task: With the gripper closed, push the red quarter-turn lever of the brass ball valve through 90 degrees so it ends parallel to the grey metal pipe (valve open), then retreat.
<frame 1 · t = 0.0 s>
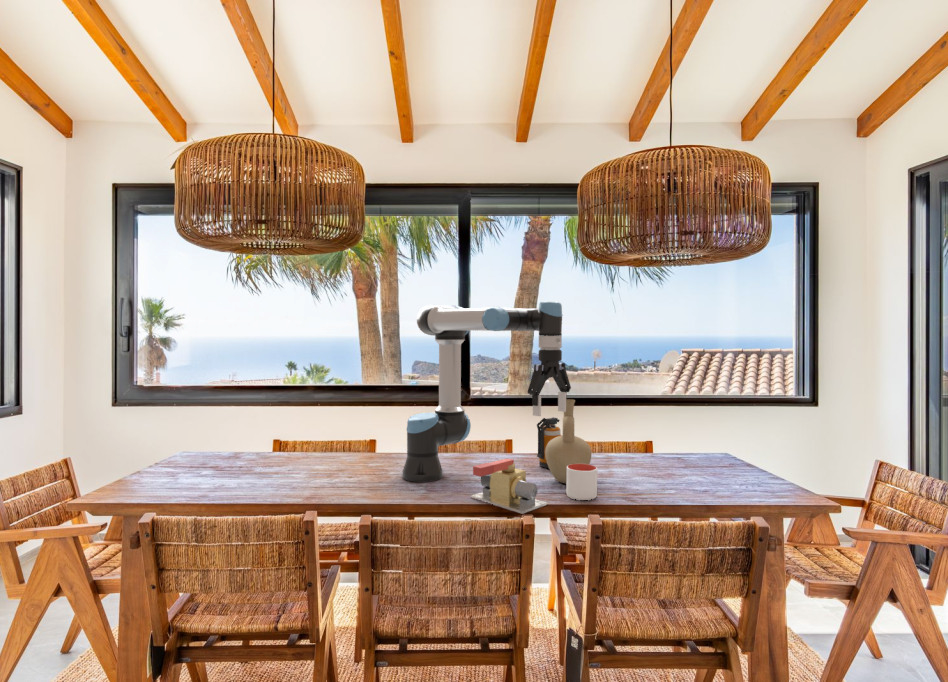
hand: (549, 413, 181), 28 cm above the table, fingers open, 13 cm apart
valve: (508, 501, 178), on the table
canister: (548, 467, 223), on the table
cup: (581, 497, 183), on the table
vase: (567, 482, 202), on the table
lever: (495, 468, 174), point 12 cm above the table, hinge at 0.0°
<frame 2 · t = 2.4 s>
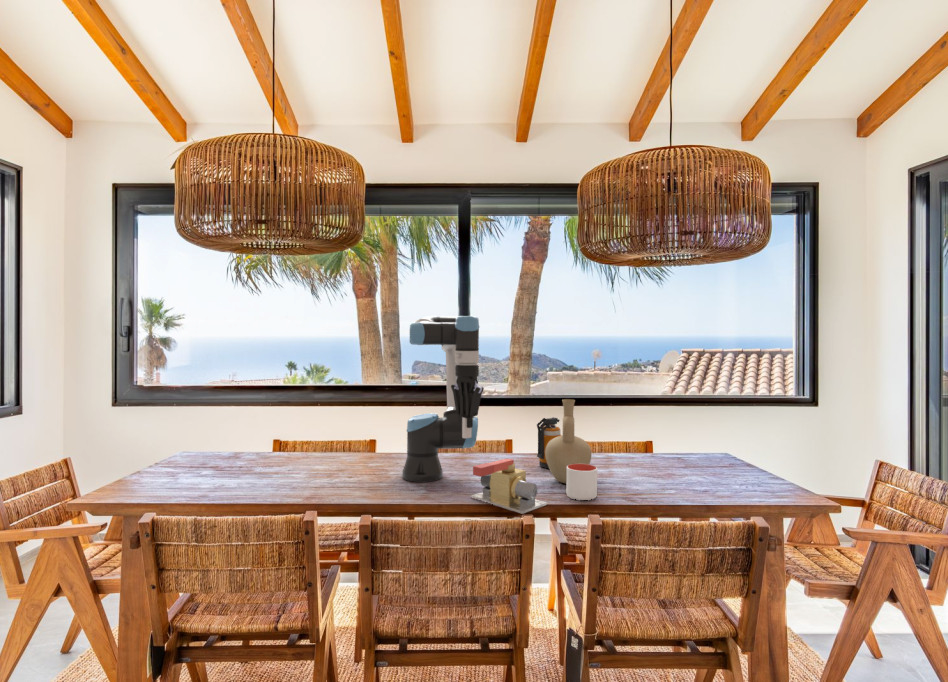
hand: (466, 437, 177), 21 cm above the table, fingers closed
nothing on the table moved.
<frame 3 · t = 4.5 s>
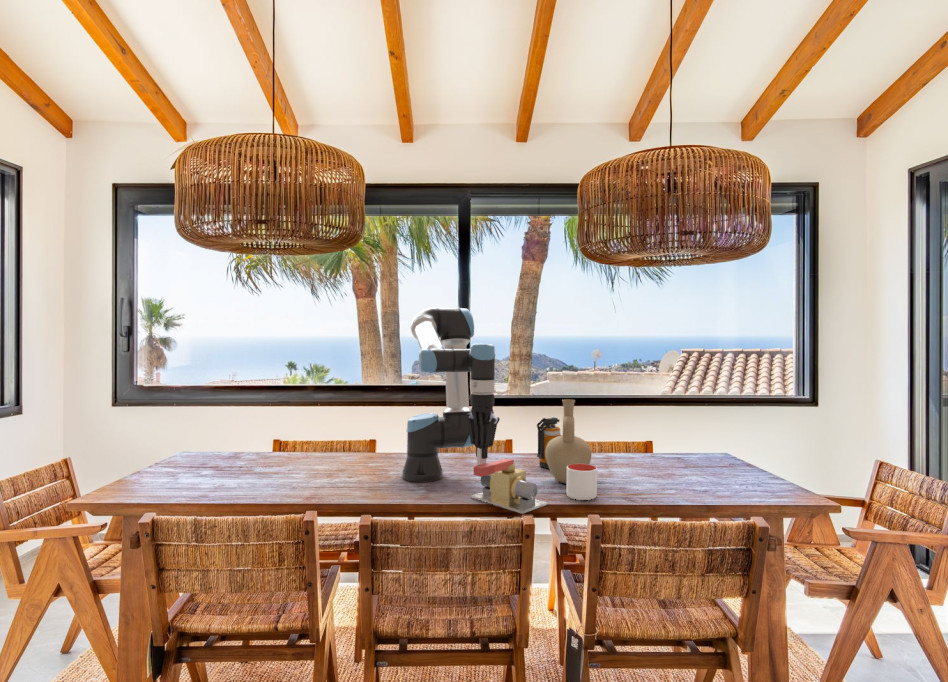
hand: (481, 468, 172), 12 cm above the table, fingers closed
lever: (495, 468, 173), point 12 cm above the table, hinge at 1.1°, touching gripper
everything else where it was.
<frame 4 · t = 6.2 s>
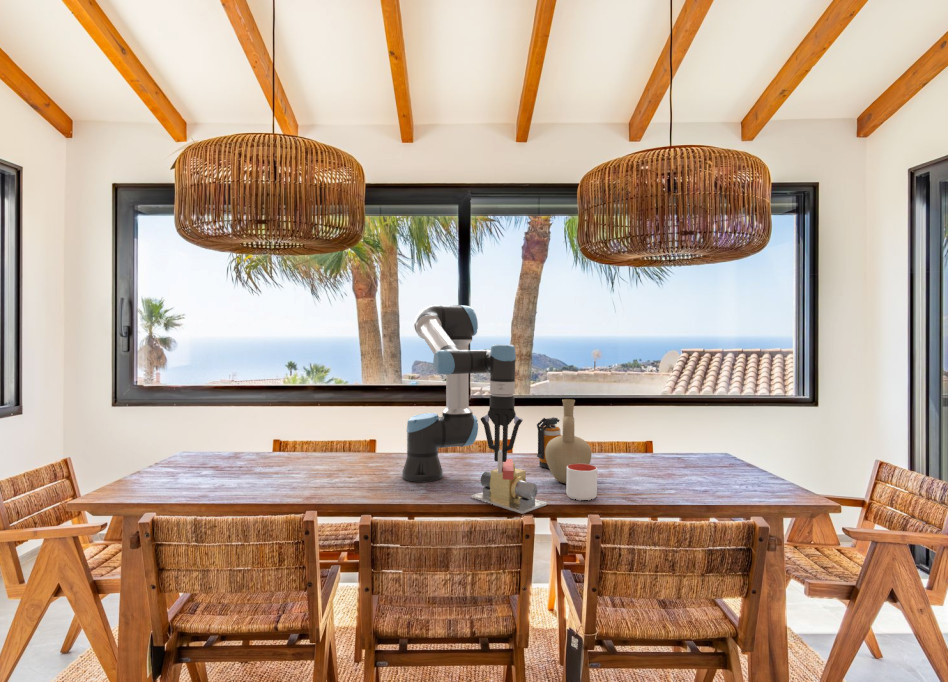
hand: (500, 472, 168), 12 cm above the table, fingers closed
lever: (508, 469, 172), point 12 cm above the table, hinge at 41.3°, touching gripper
everything else where it was.
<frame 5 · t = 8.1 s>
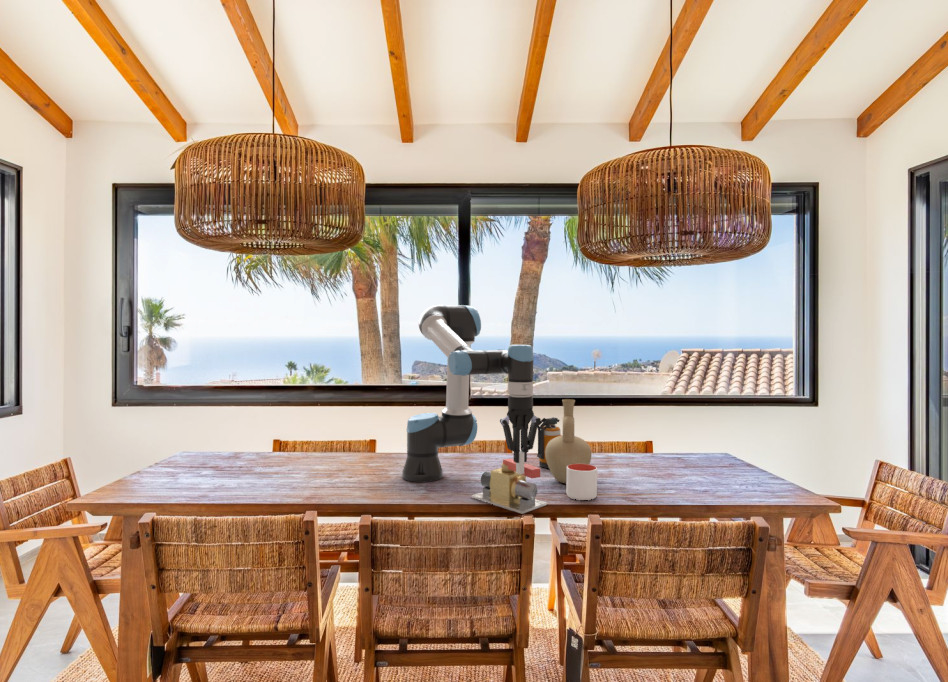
hand: (520, 472, 167), 12 cm above the table, fingers closed
lever: (519, 468, 173), point 12 cm above the table, hinge at 76.7°
everything else where it was.
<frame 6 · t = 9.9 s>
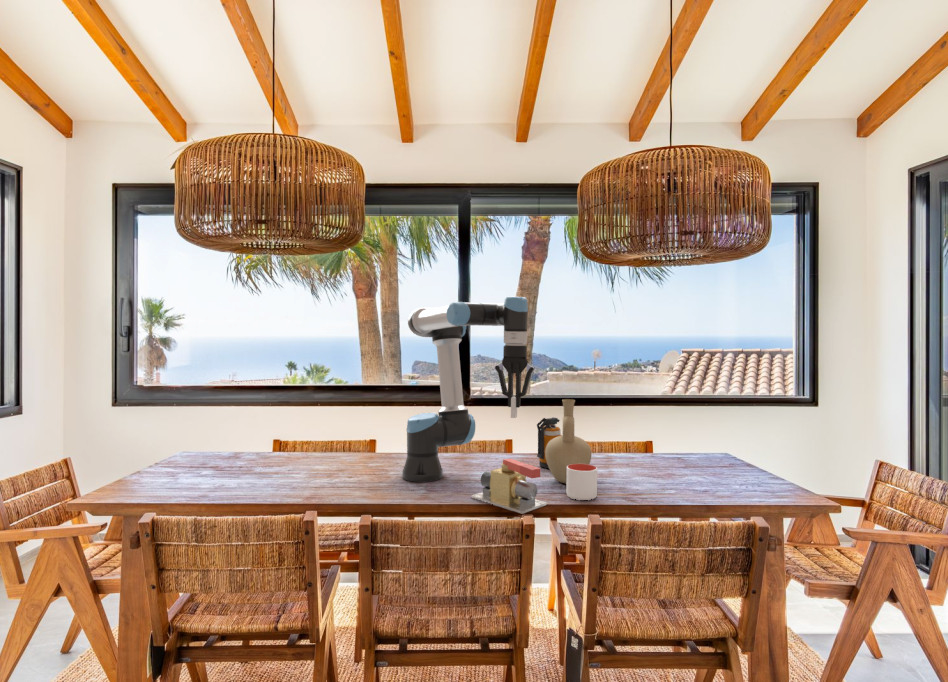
hand: (513, 417, 179), 27 cm above the table, fingers closed
nothing on the table moved.
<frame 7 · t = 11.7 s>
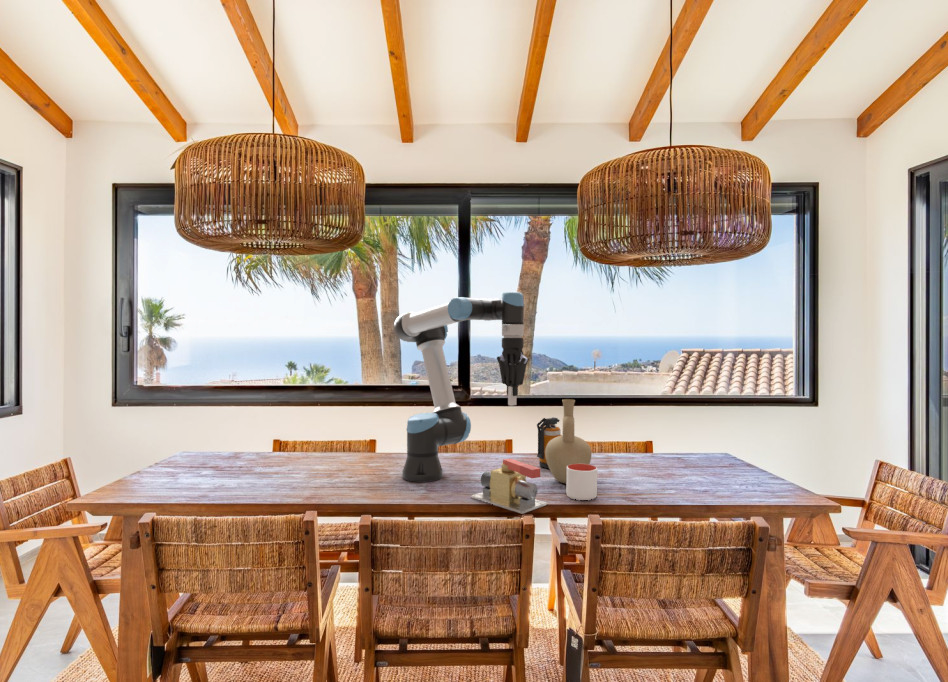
hand: (512, 405, 191), 29 cm above the table, fingers closed
nothing on the table moved.
at the end: lever at +77° (first picture: +0°) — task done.
